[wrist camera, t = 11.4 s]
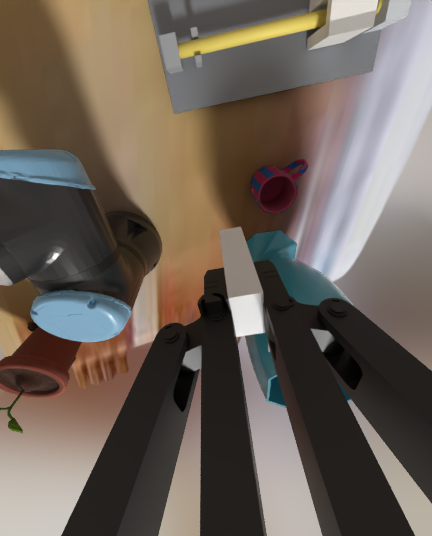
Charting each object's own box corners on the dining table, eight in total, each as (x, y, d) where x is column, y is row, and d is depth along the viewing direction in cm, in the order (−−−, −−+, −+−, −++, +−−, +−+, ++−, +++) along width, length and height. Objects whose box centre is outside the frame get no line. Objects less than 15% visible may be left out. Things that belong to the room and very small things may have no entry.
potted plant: (108, 329, 64) (63, 428, 43) (75, 359, 72) (24, 454, 52) (46, 301, 56) (-43, 405, 36) (17, 337, 64) (-69, 439, 44)
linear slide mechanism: (175, 113, 34) (170, 112, 29) (149, -2, 27) (136, -28, 22) (366, 72, 32) (395, 64, 27) (391, -62, 25) (436, -106, 20)
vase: (307, 220, 46) (426, 337, 21) (297, 280, 56) (370, 407, 31) (229, 229, 46) (257, 353, 22) (233, 287, 56) (255, 417, 32)
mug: (243, 181, 40) (249, 191, 35) (290, 144, 37) (305, 149, 32) (261, 208, 44) (269, 221, 38) (305, 176, 40) (321, 185, 35)
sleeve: (306, 50, 29) (328, 36, 24) (309, -1, 26) (335, -29, 21) (343, 42, 29) (373, 26, 24) (350, -11, 26) (385, -42, 21)
